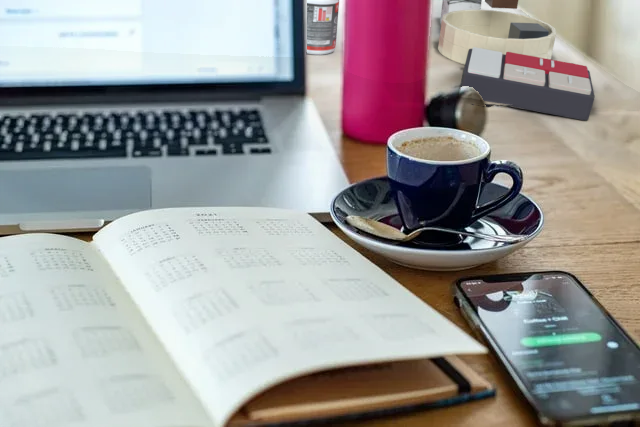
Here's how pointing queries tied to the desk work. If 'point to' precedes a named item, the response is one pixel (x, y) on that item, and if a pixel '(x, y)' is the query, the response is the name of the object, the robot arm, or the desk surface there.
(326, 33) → the pill bottle
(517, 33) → the slate block
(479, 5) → the ink box
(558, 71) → the grey switch panel
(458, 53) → the bowl
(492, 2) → the brown tall block
